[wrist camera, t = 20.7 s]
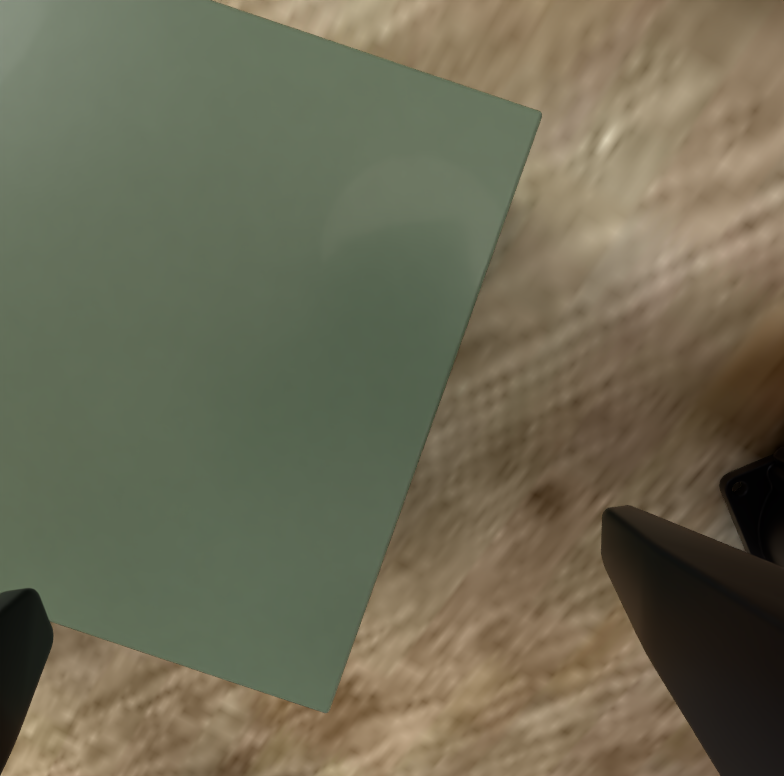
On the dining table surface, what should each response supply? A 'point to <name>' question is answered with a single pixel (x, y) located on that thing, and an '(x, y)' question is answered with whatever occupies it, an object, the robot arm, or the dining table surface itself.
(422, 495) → the dining table surface
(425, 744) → the dining table surface
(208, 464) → the cabinet
